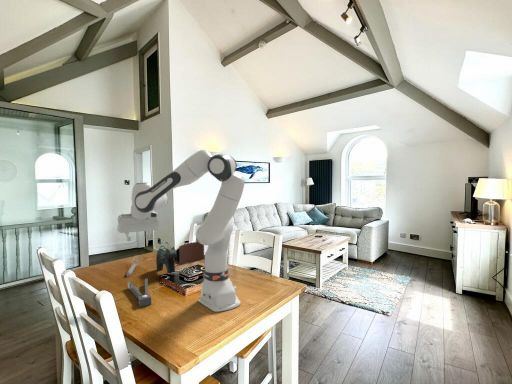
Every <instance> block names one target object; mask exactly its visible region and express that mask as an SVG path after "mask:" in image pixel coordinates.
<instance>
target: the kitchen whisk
mask: <svg viewBox="0 0 512 384" xmlns="http://www.w3.org/2000/svg"><path fill="white" fill-rule="evenodd" d="M134 259H135V260H137V261H138V262H137V261H136V263H135V262H134V261H135V260H134ZM131 260H132V263H131V265H130V267H129V269H128V270H127V272H126V274H125V275H126V277H127V278H129V277H130V276H131V275H132V274H133V272H134V270H135V268H136V267H138V265H139V264H141V263H142V260H141V259H140V256H137V254H136V255H134V257H132V259H131ZM140 260H141V262H140Z"/></svg>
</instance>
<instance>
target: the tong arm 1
mask: <svg viewBox="0 0 512 384" xmlns="http://www.w3.org/2000/svg"><path fill="white" fill-rule="evenodd" d="M127 288H128V290H129V291H131V293H132V294H133V295H134V296H135V297H136V299H137V300H138V296H142V295H143V293H141V292H140V290H139V289H138V288H137V287H136V286H135V285H134V284H133V282H132V281H127Z"/></svg>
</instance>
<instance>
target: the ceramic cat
mask: <svg viewBox="0 0 512 384" xmlns="http://www.w3.org/2000/svg"><path fill="white" fill-rule="evenodd" d="M165 244H167V245H169V243H168V241H167V242H165ZM176 250H177V249H175V246H173V247H172V246H170V247H165V246H164V245H161V246H160V247H159V249H158V250H157V252H156V258H155V259H156V260H155V263H156V270H157V271H159V272H160V271H163V270H164V265H165V268H166V271H167V272H166V273H171V272H175V273H176V265H175V262H174V258H175V257H176Z"/></svg>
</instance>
